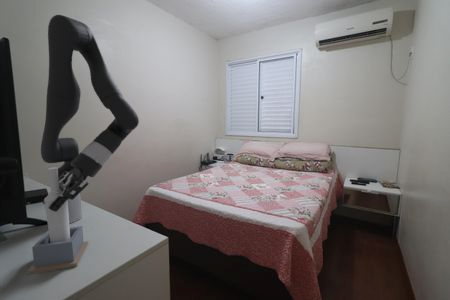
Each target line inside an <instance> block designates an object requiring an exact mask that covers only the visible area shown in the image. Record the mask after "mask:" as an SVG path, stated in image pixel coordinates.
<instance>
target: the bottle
mask: <svg viewBox="0 0 450 300" xmlns="http://www.w3.org/2000/svg"><path fill="white" fill-rule="evenodd" d="M47 170H48V177H49V188H50V191H49V193H48V195H47V196H46V197H44V199H43V200H44V202H45V204H44V207H45V208H44V209H45V214H46V221H47V227H48V229H47V230H49V236H50V243H55V242H62V241H69V240H70V228H71V227H70V223H69V213H68V200H66V202H65V203H64V204H63V205H62V206H61V207H60V208H59V209H58V211H56V212H55V211H52V210H50V209H49V206H50V205H51V204H52V203H53V202H54V200H55V199H56V198H57V197H58V196H59V195H60V194H61V190H60V189H59V179H58V167H55V166H54V167H48V169H47ZM59 197H60V196H59Z"/></svg>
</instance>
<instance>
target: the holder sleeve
mask: <svg viewBox="0 0 450 300" xmlns="http://www.w3.org/2000/svg"><path fill="white" fill-rule="evenodd" d="M88 245H89V241H85V240H84V231H83V226H75V227H74V226H73V227H70V240H69V241H62V242H55V243H50V236H49V229H47V231H46V232H45V233H44V234H43V235H42V236H41V237H40V238H39V240H37V242H36V243H35V244H34V245H33V246H32V247H31V249H32V256H33V257H32V258H33V264H32V265H31V267H30V268H29V269H28V271H27V273H28V275H33V274H39V273H45V272H51V271H57V270H62V269H68V268H69V269H70V268H73V267H78V264H79V263H80V261H81V259H82V257H83V255H84V253H85V252H86V250H87V247H88Z"/></svg>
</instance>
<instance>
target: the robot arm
mask: <svg viewBox="0 0 450 300" xmlns="http://www.w3.org/2000/svg"><path fill="white" fill-rule="evenodd" d="M48 22H49V23H48V27H47V28H48V29H47V39H48V40H47V41H48V44H47V45H48V80H47V89H46V99H45V100H46V104H45V105H46V106H45V107H46V108H45V123H44V128H43V132H42V139H41V145H40V156H41V159H42V160H43V162H44V163H47V164H57V163H63V164H62V165H61V166H60V167H59V168H58V167H57V168H58V179H59V189H60V190H61V194H60V195H59V196H60V197H59V196H58V197H57V198H56V199H55V200H54V202H53V203H52V204H51V205H50V206H49V209H50V210H52V211H55V212H56V211H58V209H59V208H60V207H61V206H62V205H63V204H64V203H65V202H66V200H68V213H69V224H71V223H75V222H77V221H79V220H80V219H82V218H83V210H82V199H81V193H82V191H84V189H86V187H87V186H88V185H89V184H90V183H89V182H88V181H86V180H87V178H88V177H89V178H94V177H96V175H97V174H98V173H99V172H100V171H101V170H102V168H103V167H104V166H105V165H106V163H107V162H108V161H109V160H110V159H111V157H112V155H114V153H115V152H116V151H117V150H118V149H119V147H120V146H121V144H122V142H123V141H124V140H125V139H126V138H127V137H128V136H129V135H130V134H131V132H132V131H134V130H135V129H136V128H137V127H138V125H139V122H140V119H139V116H138V113H137V112H136V111H135V109H134V108H133V106H131V104H130V103H129V102H128V101H127V100H126V99H125V97H124V96H123V94H122V93H121V90H120V89H119V87H118V85H117V84H116V82H115V80H114V78H113V77H112V75H111V73H110V71H109V68H108V67H107V64H106V61H105V60H104V57H103V55H102V52H101V49H100V48H99V45H98V42H97V40H96V37H95V35H94V33H93V31H92V30H91V28H90V27H89V26H88V25H87V24H86V23H83V22H82V21H79V20H77V19H74V18H71V17H68V16H65V15H62V14H55V15H53V16H52V17H51V18H50V20H49V21H48ZM74 51H75V52H79V53H80V54H81V56H82V57H83V59H84V60H85V61H86V63H87V65H88V66H87V67H88V69H89V73H90V81H91V86H92V87H93V88H92V89H93V91H94V92H95V94H96V96H97V98H98V99H99V101H100V103H101V104H102V105H103V107H105V108H106V110H109V111H110V112H111V114H112V115H113V117H114V119H113V120H112V121H111V123H109V125H108V126H107V127H106V129H104V130H102V131H101V132H100V133H99V134H98V135H97V136H96V137H95V138H94V139H93V140H92V142H90V143H89V144H88V145H86V146H85V147H84V149H83V150H81V152H80V148H79V144H78V142H77V140H76V139H75V138H73V137H60V133H61V132H62V130H63V128H64V127H65V126H66V125H67V123H69V122H70V121H71V120H72V119H73V117H74V116H76V114H77V113H78V111H79V108H80V102H81V94H82V93H81V88H80V84H79V82H78V80H77V77H76V76H75V73H74V70H73V53H74ZM59 137H60V138H59ZM42 204H43V205H45V202H44V199H43V200H42Z"/></svg>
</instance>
